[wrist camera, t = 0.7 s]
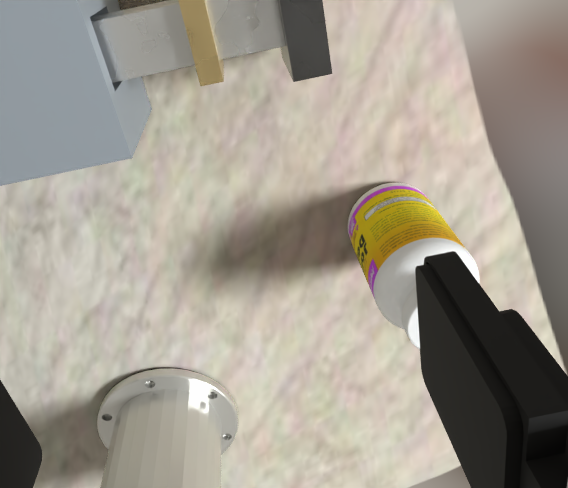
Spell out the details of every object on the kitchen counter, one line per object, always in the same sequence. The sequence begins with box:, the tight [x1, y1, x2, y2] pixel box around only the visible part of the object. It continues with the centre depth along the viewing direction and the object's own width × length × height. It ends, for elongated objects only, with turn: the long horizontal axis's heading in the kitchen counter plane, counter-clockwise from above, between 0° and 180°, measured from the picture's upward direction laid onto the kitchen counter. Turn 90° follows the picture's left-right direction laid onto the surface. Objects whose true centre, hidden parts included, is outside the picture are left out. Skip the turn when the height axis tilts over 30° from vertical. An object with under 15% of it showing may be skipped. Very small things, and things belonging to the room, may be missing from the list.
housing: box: [0, 0, 152, 186], centre depth 30 cm, size 10×8×9 cm
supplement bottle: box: [348, 183, 479, 349], centre depth 36 cm, size 7×7×13 cm
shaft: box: [90, 0, 332, 86], centre depth 29 cm, size 6×14×6 cm, turn 100°
